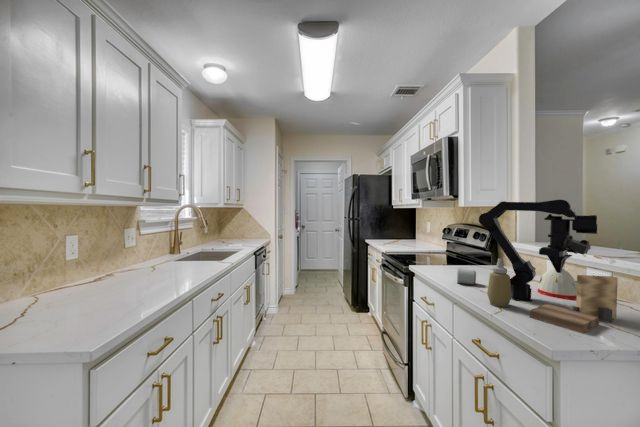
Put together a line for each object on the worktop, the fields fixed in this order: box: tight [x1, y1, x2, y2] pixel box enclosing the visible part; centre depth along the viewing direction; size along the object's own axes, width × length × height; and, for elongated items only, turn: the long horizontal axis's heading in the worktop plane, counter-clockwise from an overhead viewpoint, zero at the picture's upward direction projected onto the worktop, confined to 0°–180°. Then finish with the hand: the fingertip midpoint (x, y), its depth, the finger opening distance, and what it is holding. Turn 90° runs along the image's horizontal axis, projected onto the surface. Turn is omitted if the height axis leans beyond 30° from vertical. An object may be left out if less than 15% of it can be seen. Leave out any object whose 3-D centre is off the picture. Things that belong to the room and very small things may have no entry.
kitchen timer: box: [537, 267, 577, 300], centre depth 123 cm, size 14×14×15 cm
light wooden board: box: [569, 274, 619, 319], centre depth 97 cm, size 13×2×14 cm, turn 83°
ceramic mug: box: [456, 267, 477, 286], centre depth 141 cm, size 11×8×8 cm
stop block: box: [599, 307, 613, 323], centre depth 95 cm, size 2×2×4 cm
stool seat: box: [529, 303, 600, 334], centre depth 94 cm, size 13×14×2 cm
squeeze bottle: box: [486, 258, 512, 308], centre depth 109 cm, size 8×8×18 cm
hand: (558, 272), depth 108 cm, fingers closed
